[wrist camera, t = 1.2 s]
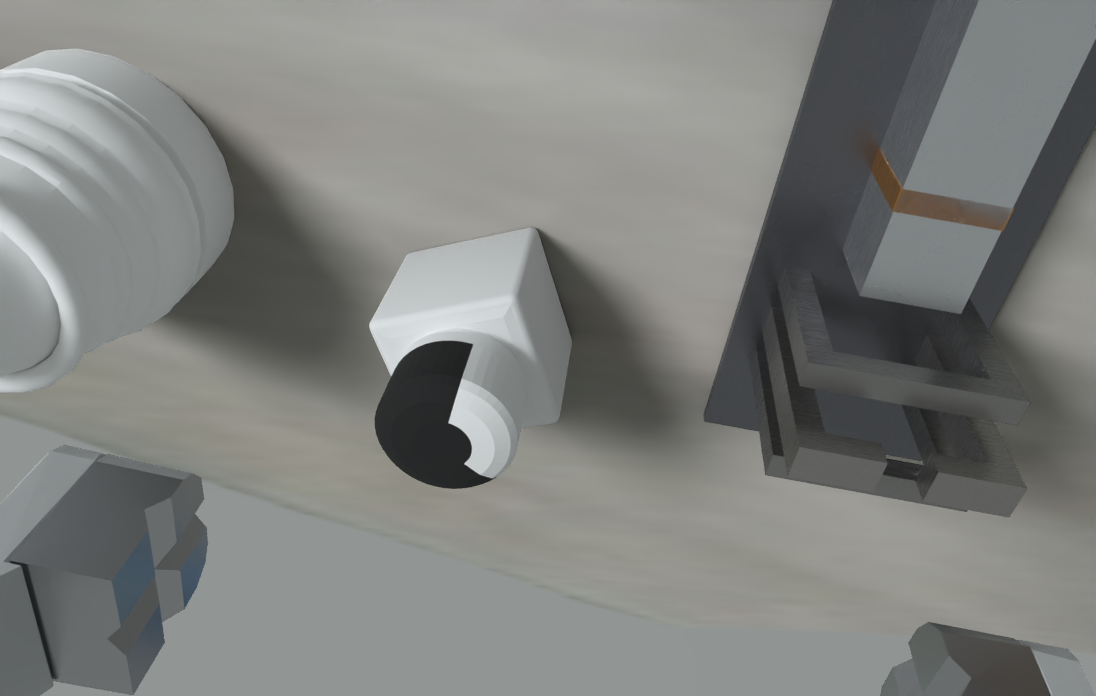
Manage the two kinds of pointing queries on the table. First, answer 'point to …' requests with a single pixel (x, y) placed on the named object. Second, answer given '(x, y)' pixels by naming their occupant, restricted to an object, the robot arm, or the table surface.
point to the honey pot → (97, 208)
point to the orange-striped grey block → (963, 144)
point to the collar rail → (872, 324)
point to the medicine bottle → (469, 357)
